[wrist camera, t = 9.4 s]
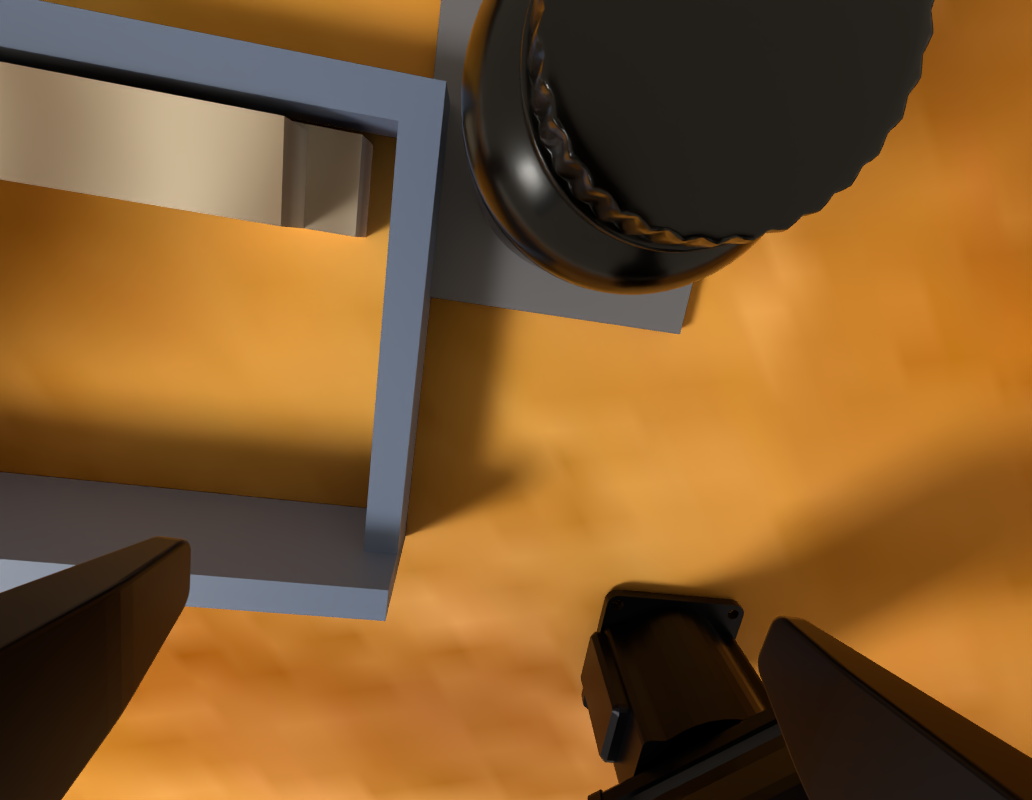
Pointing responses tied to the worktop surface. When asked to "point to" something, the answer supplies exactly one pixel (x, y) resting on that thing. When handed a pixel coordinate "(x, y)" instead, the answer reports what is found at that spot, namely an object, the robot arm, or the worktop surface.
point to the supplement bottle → (675, 125)
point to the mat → (483, 256)
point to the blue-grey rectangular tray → (413, 226)
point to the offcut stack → (180, 152)
